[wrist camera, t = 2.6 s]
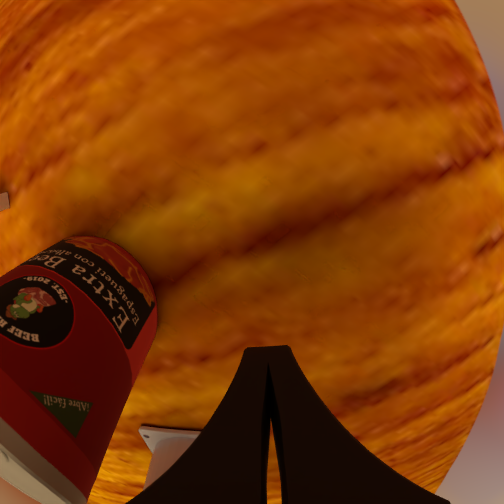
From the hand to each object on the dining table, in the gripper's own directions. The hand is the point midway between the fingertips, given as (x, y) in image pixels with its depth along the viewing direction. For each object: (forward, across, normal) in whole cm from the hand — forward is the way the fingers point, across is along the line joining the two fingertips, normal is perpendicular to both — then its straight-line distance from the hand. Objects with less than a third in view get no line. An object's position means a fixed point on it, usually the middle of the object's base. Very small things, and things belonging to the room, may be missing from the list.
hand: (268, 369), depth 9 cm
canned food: (+6, +9, 0) cm, 11 cm away
